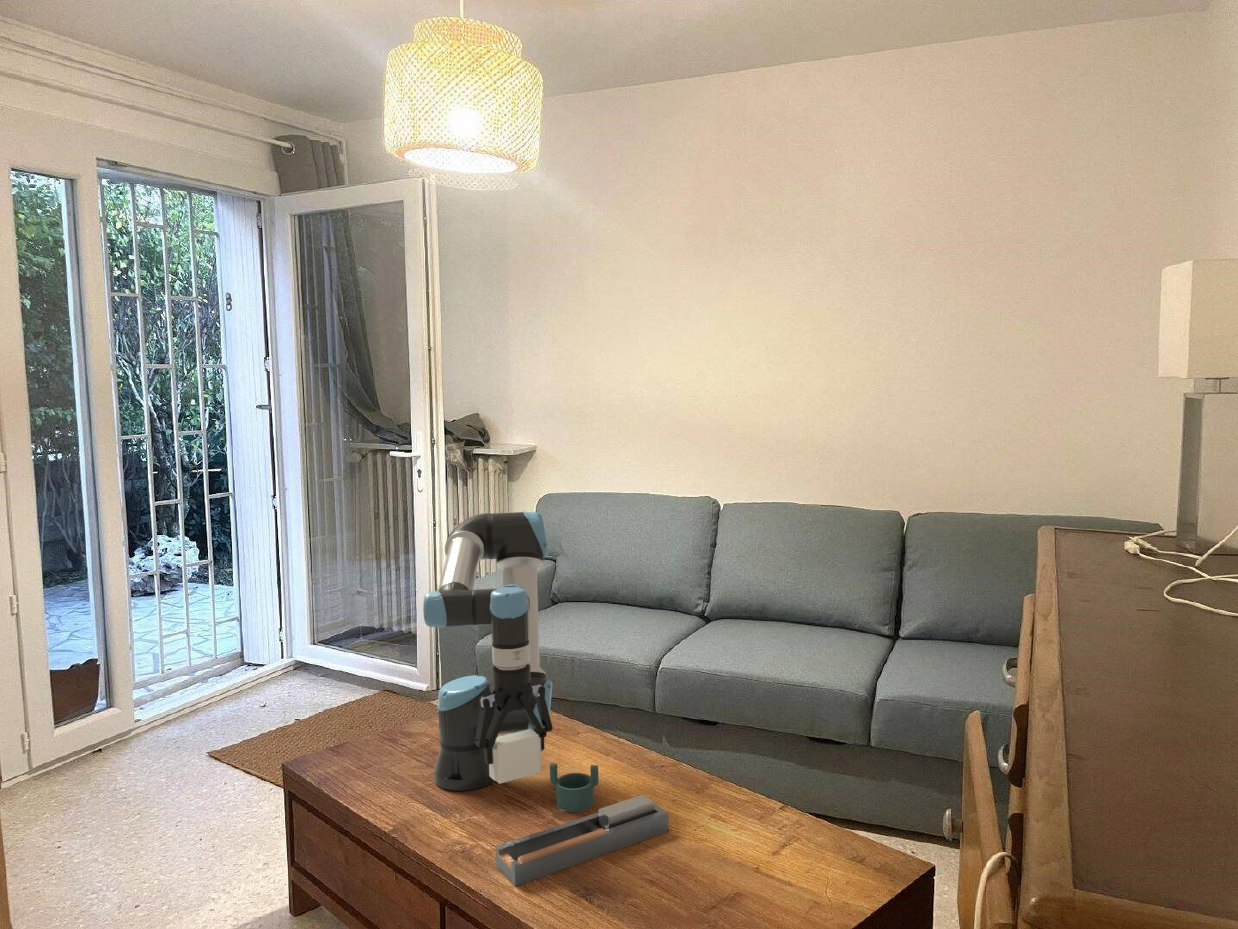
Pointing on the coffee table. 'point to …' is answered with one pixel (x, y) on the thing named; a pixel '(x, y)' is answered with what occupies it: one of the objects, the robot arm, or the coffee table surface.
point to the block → (517, 755)
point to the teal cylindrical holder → (574, 789)
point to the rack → (581, 839)
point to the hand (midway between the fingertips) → (515, 772)
